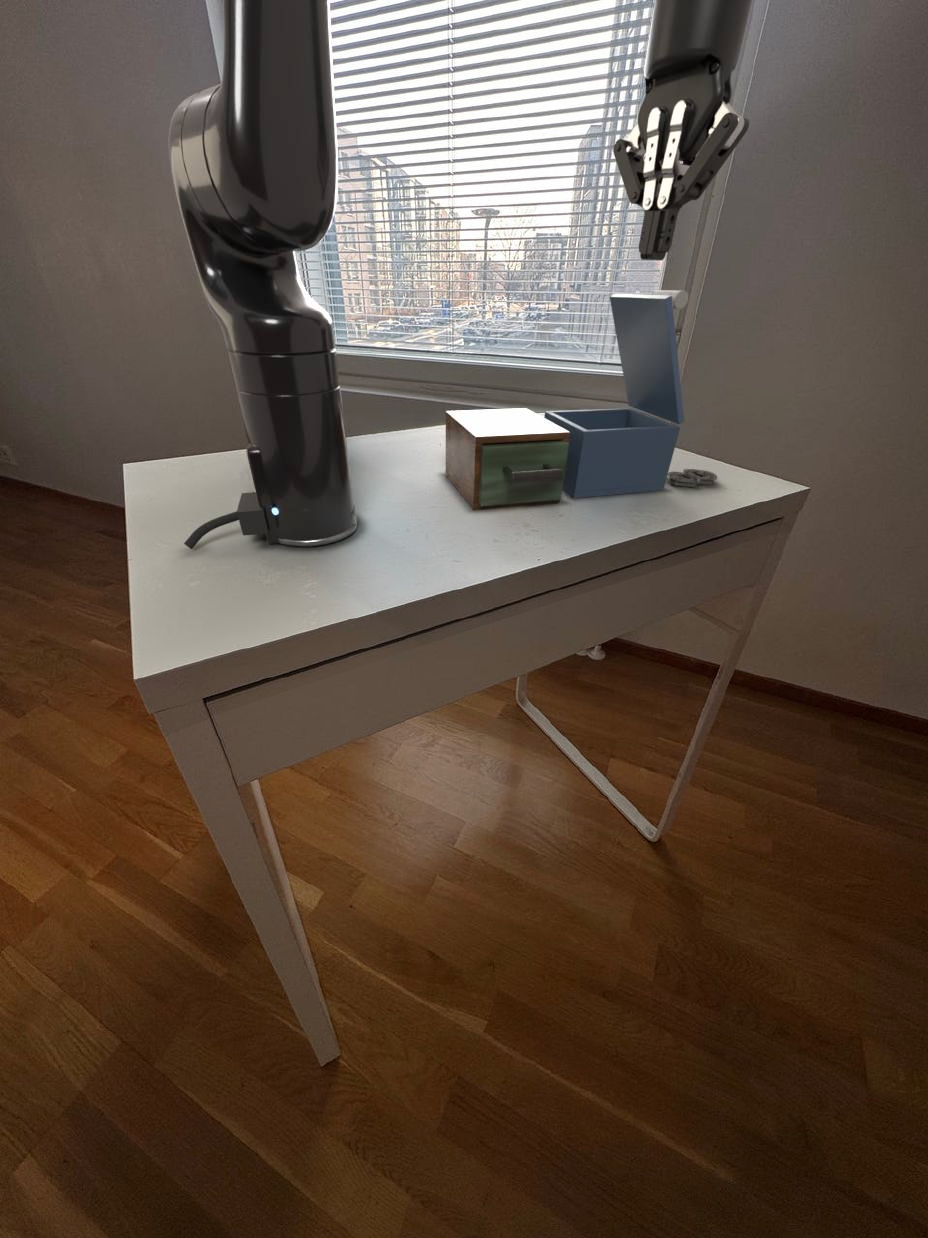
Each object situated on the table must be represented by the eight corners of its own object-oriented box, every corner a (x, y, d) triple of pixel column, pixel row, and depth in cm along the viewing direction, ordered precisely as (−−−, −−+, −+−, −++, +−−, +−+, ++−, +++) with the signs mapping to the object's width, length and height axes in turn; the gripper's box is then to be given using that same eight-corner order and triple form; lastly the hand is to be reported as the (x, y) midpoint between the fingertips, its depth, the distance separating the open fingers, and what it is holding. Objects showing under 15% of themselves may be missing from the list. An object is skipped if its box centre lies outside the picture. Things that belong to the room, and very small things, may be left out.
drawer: (575, 511, 56) (585, 452, 52) (491, 519, 53) (495, 458, 49) (523, 468, 68) (527, 418, 64) (453, 473, 66) (454, 421, 62)
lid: (665, 298, 51) (706, 275, 51) (609, 296, 60) (644, 277, 60) (678, 424, 60) (714, 405, 60) (628, 405, 69) (659, 389, 69)
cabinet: (560, 502, 60) (570, 431, 55) (473, 510, 57) (475, 436, 52) (520, 469, 71) (526, 407, 66) (445, 474, 68) (445, 410, 63)
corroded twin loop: (656, 480, 68) (658, 473, 67) (695, 473, 71) (697, 466, 70) (684, 491, 64) (686, 484, 64) (724, 483, 67) (726, 476, 67)
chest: (573, 498, 62) (584, 431, 57) (538, 470, 71) (544, 411, 66) (663, 490, 65) (680, 426, 60) (618, 464, 74) (630, 407, 69)
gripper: (814, -31, 35) (733, 259, 45) (663, 30, 44) (623, 262, 54) (762, -68, 32) (688, 256, 42) (609, 6, 41) (577, 259, 51)
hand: (651, 259), depth 48 cm, fingers closed
